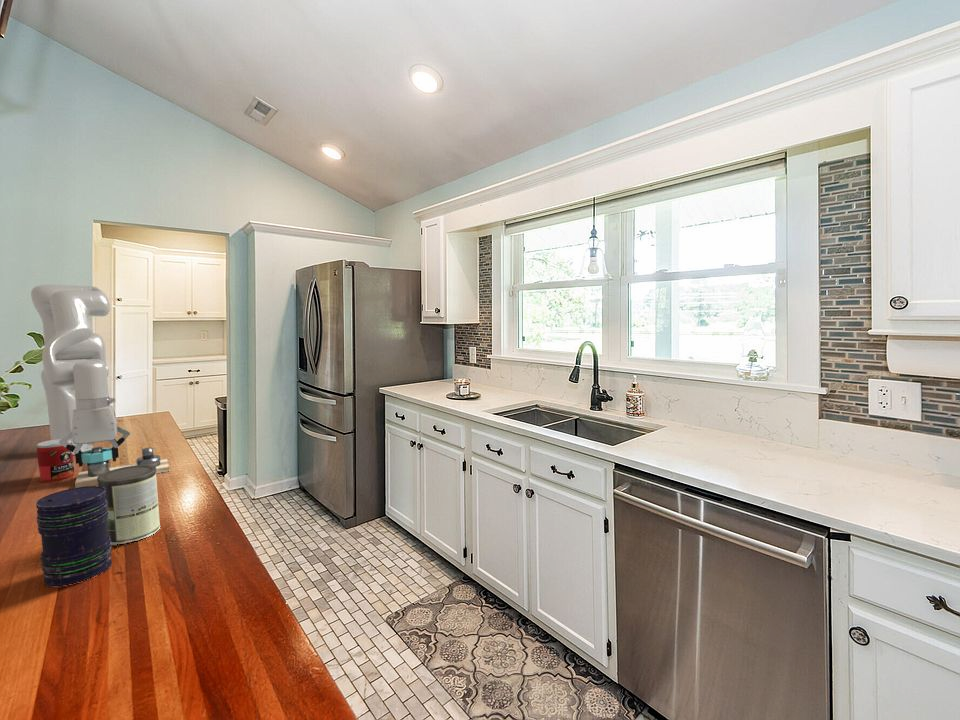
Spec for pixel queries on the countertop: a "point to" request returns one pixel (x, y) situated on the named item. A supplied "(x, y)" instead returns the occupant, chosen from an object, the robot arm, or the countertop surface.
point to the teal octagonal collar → (96, 456)
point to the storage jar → (74, 535)
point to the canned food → (54, 461)
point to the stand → (97, 465)
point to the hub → (148, 458)
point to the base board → (88, 481)
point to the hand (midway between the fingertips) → (98, 462)
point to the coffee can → (131, 503)
